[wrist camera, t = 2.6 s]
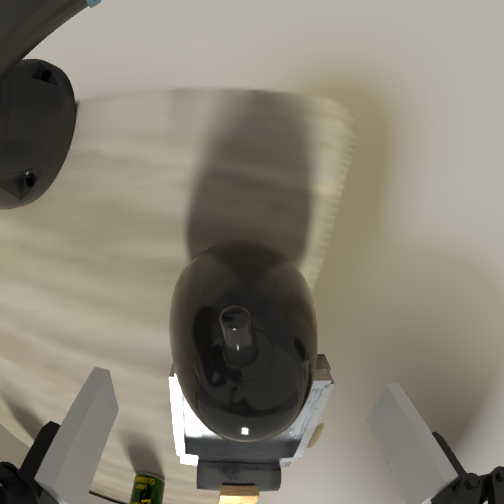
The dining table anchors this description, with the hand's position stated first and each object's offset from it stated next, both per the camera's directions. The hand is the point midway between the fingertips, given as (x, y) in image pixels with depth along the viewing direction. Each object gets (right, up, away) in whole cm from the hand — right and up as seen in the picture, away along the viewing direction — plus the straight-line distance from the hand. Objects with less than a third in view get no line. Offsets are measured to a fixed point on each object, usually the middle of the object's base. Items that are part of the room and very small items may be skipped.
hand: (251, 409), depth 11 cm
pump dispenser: (-1, +4, +13) cm, 14 cm away
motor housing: (-1, -12, +18) cm, 22 cm away
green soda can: (-18, -33, +23) cm, 44 cm away
